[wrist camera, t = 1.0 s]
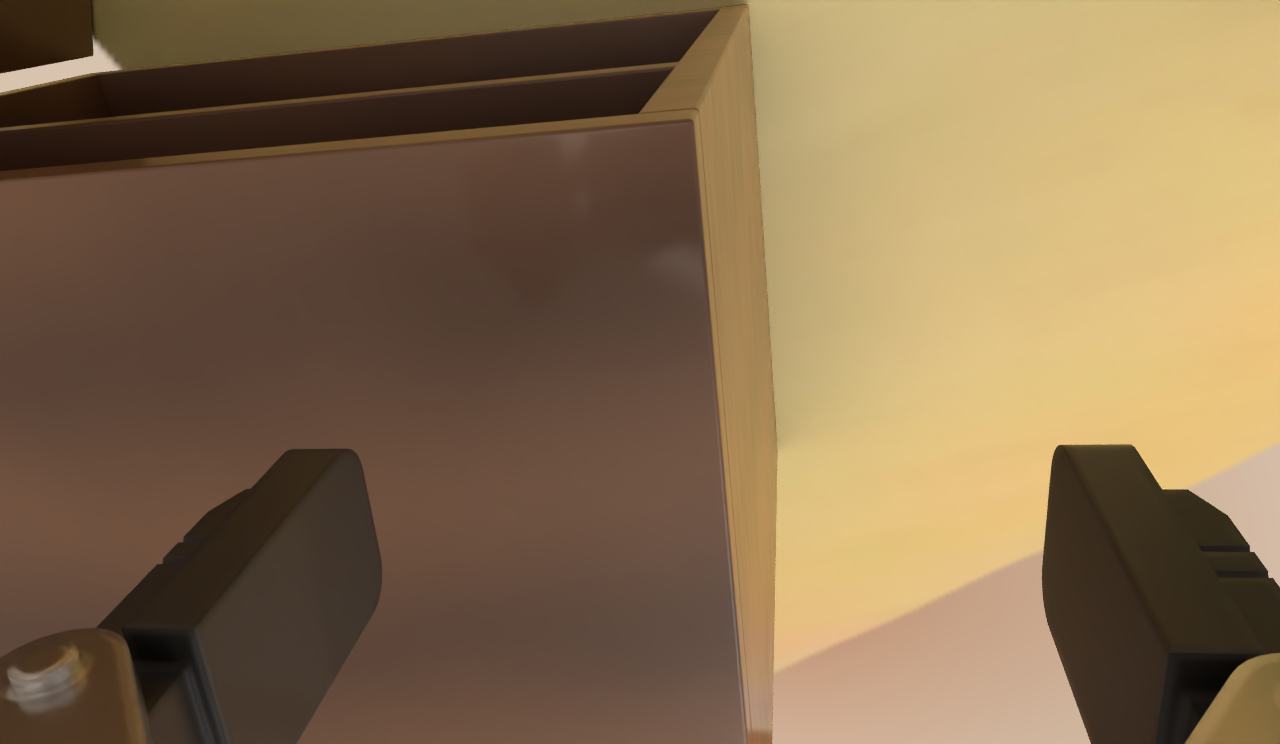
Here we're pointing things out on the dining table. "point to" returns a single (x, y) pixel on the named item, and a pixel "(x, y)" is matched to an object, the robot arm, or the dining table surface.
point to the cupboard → (417, 360)
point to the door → (43, 32)
